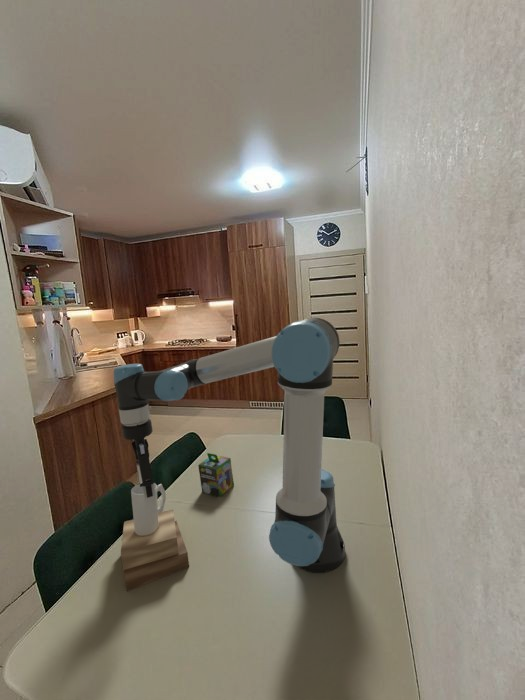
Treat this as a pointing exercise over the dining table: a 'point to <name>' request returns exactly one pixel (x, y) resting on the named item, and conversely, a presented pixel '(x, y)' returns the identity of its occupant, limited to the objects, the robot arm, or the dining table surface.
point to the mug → (146, 510)
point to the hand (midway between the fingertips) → (148, 495)
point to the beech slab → (149, 542)
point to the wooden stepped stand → (158, 566)
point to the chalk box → (216, 475)
